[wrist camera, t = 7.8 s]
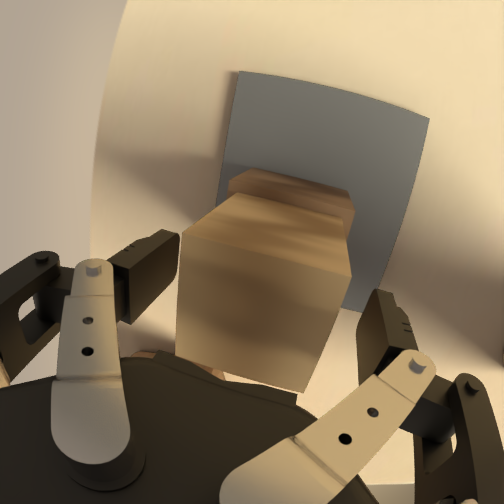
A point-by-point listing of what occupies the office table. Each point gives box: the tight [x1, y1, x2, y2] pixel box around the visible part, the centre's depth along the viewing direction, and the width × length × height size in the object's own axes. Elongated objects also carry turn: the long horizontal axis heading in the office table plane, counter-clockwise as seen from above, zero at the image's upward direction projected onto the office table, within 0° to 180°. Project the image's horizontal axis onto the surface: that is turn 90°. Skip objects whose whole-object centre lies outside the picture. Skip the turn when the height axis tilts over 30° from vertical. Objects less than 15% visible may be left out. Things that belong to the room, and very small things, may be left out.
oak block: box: [175, 192, 352, 393], centre depth 12 cm, size 5×5×6 cm
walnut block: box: [226, 168, 355, 241], centre depth 17 cm, size 6×6×5 cm
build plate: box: [216, 71, 430, 313], centre depth 19 cm, size 12×14×1 cm
